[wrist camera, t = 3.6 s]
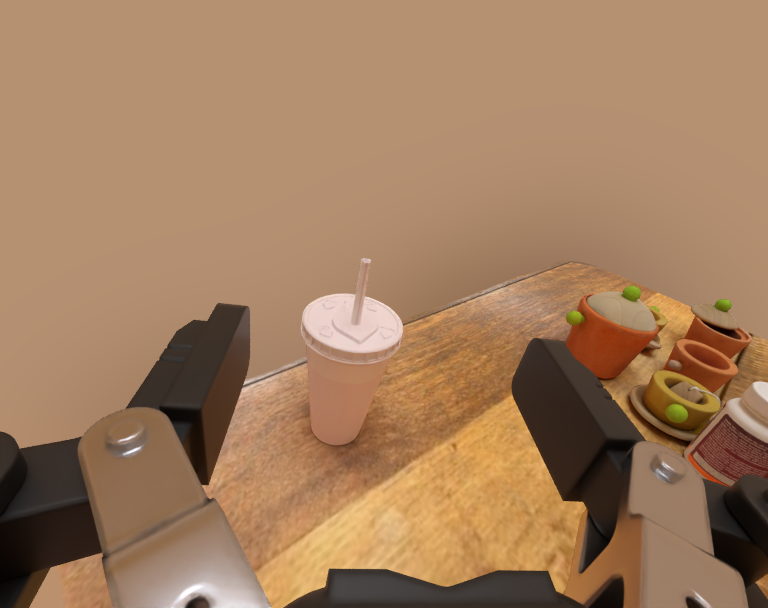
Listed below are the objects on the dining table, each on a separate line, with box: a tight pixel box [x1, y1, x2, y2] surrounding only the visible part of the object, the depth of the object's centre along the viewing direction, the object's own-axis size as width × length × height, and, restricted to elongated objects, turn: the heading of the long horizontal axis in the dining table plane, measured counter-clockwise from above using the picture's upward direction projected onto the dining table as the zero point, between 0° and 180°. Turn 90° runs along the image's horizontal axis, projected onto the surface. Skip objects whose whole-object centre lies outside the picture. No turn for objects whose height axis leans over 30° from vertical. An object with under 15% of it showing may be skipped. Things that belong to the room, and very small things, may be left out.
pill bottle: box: [684, 382, 768, 487], centre depth 30 cm, size 5×5×8 cm
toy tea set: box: [566, 286, 752, 441], centre depth 42 cm, size 26×16×10 cm, turn 131°
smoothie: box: [300, 258, 403, 445], centre depth 25 cm, size 6×6×14 cm
